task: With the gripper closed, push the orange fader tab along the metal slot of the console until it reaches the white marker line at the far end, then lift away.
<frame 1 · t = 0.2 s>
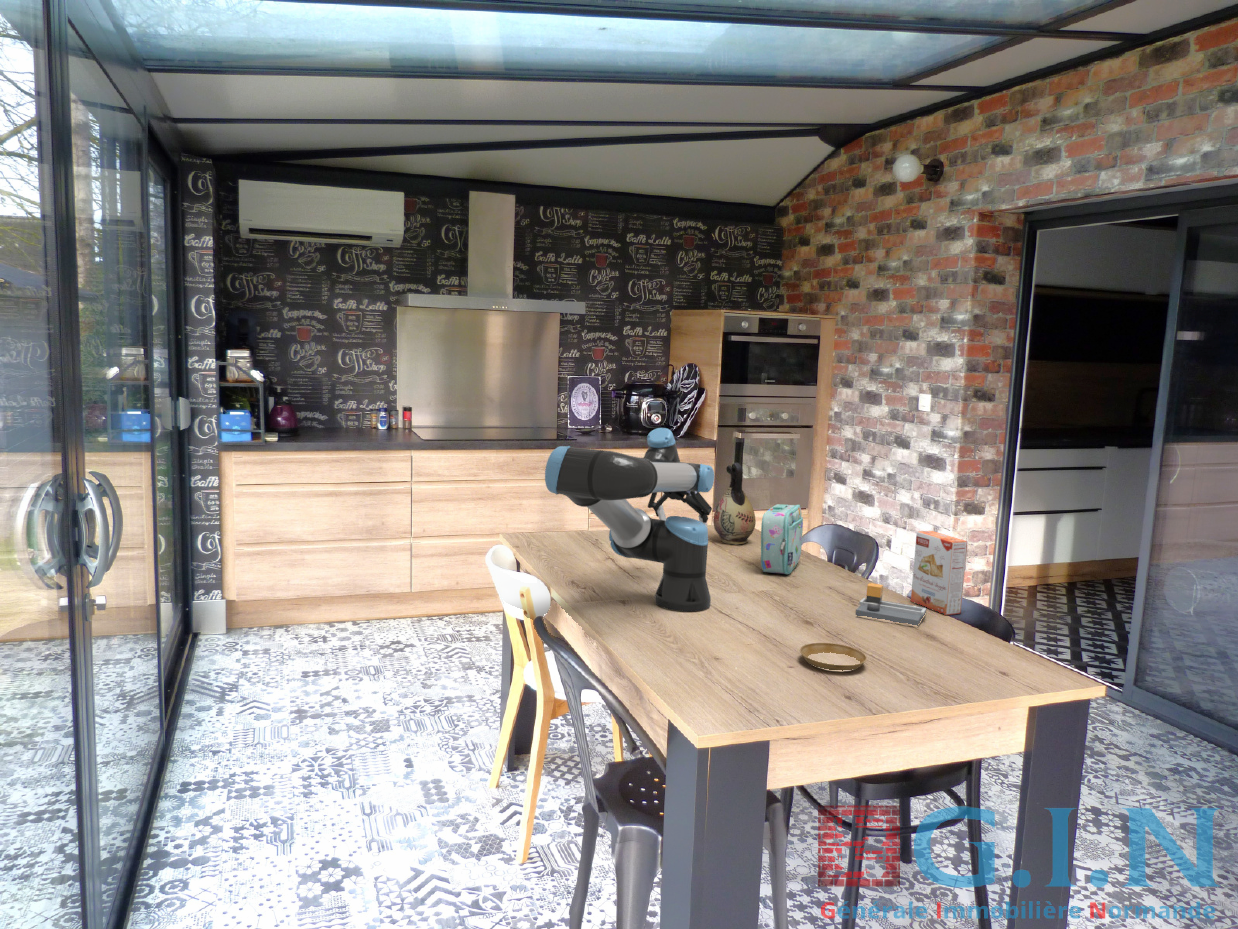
hand: (684, 526, 270), 15 cm above the table, tool tilted 35°, fingers open, 13 cm apart
ceramic jug: (733, 543, 323), on the table
plant saucer: (832, 665, 199), on the table
console: (891, 616, 239), on the table
fader tab: (874, 594, 241), point 5 cm above the table, slide at 0.0 cm
lunch box: (780, 569, 287), on the table
cracker box: (934, 608, 249), on the table
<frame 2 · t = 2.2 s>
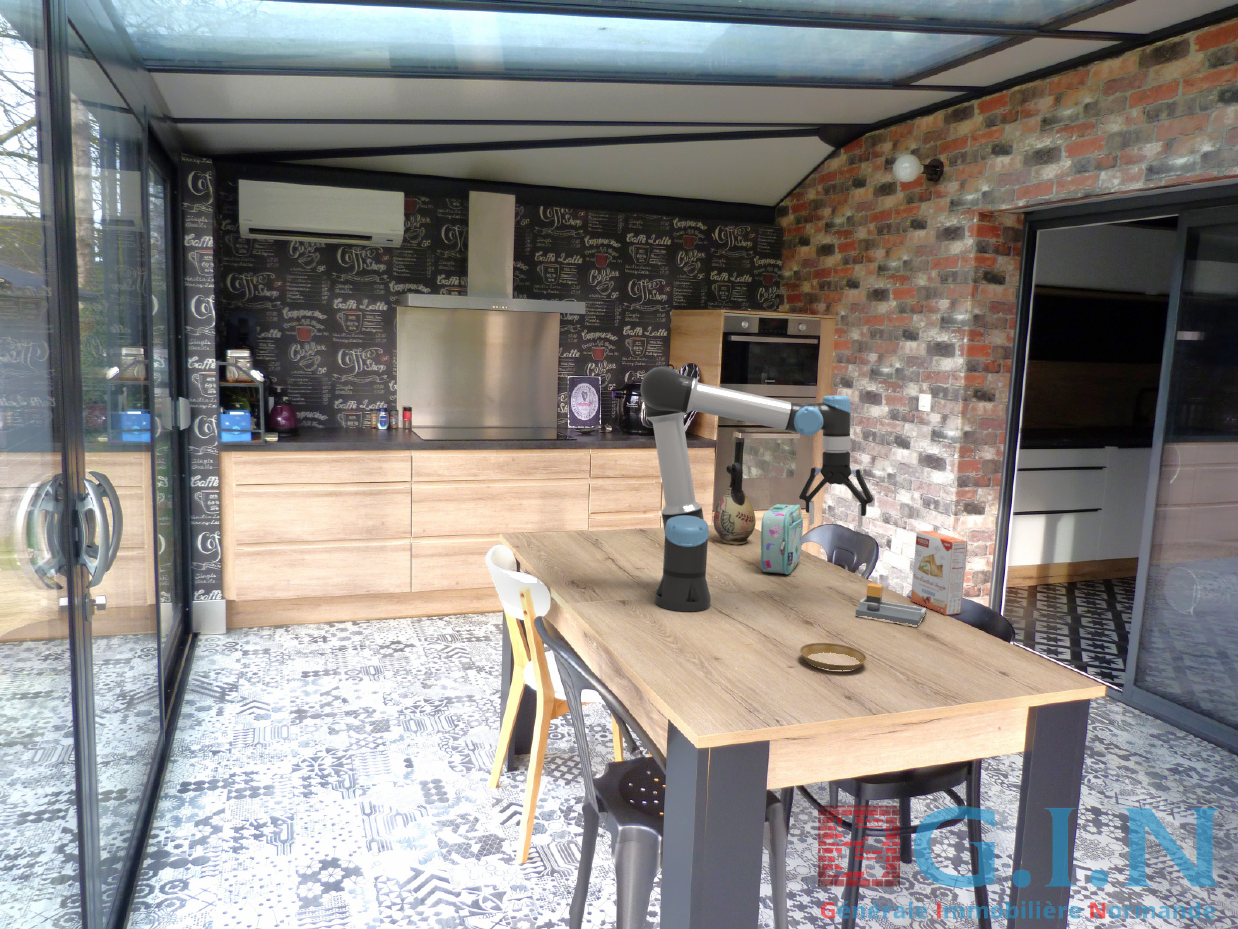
hand: (835, 525, 249), 22 cm above the table, tool pointing down, fingers open, 13 cm apart
nothing on the table moved.
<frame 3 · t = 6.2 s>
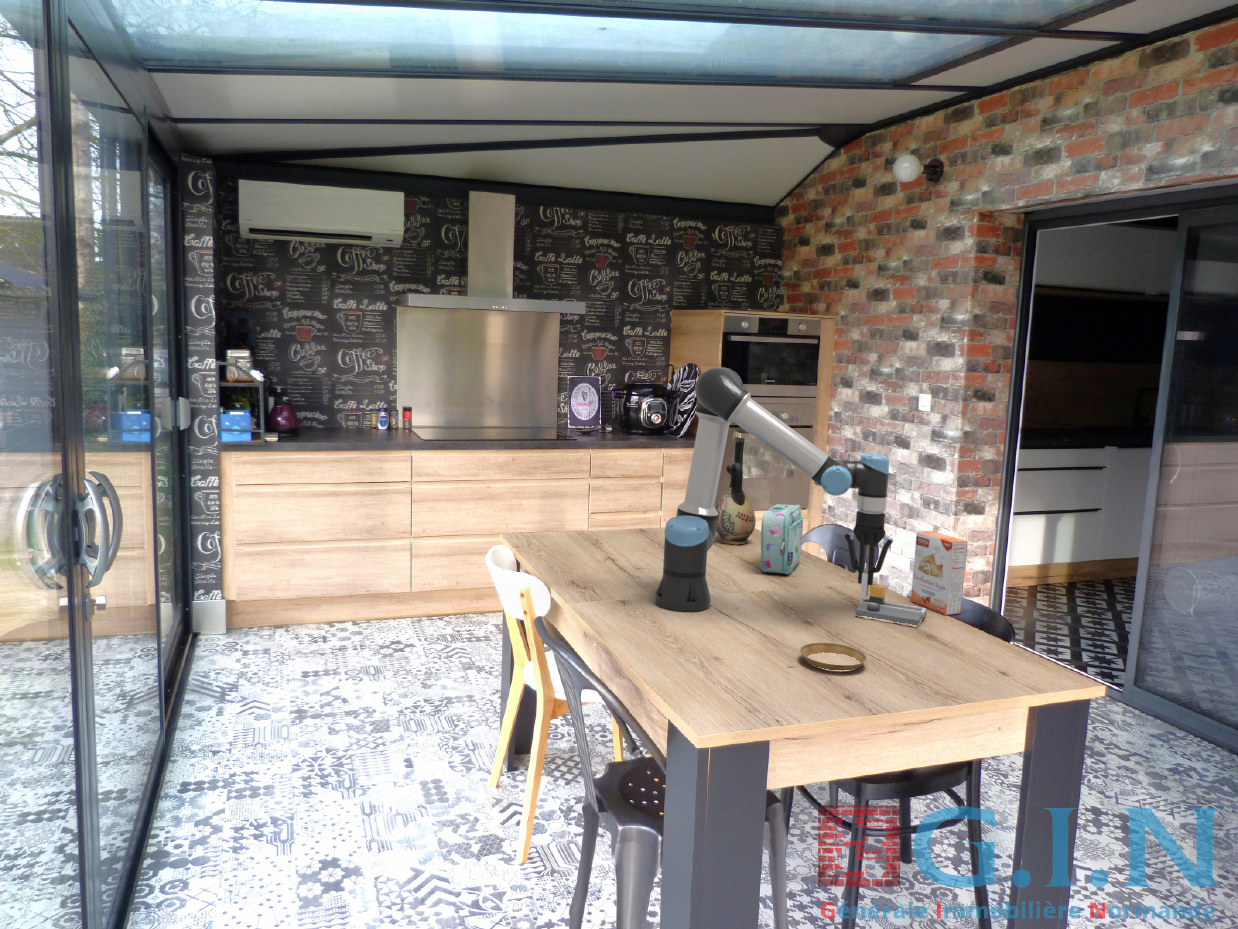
hand: (864, 595, 243), 4 cm above the table, tool pointing down, fingers closed
fader tab: (877, 595, 241), point 5 cm above the table, slide at 0.8 cm, touching gripper
everything else where it was.
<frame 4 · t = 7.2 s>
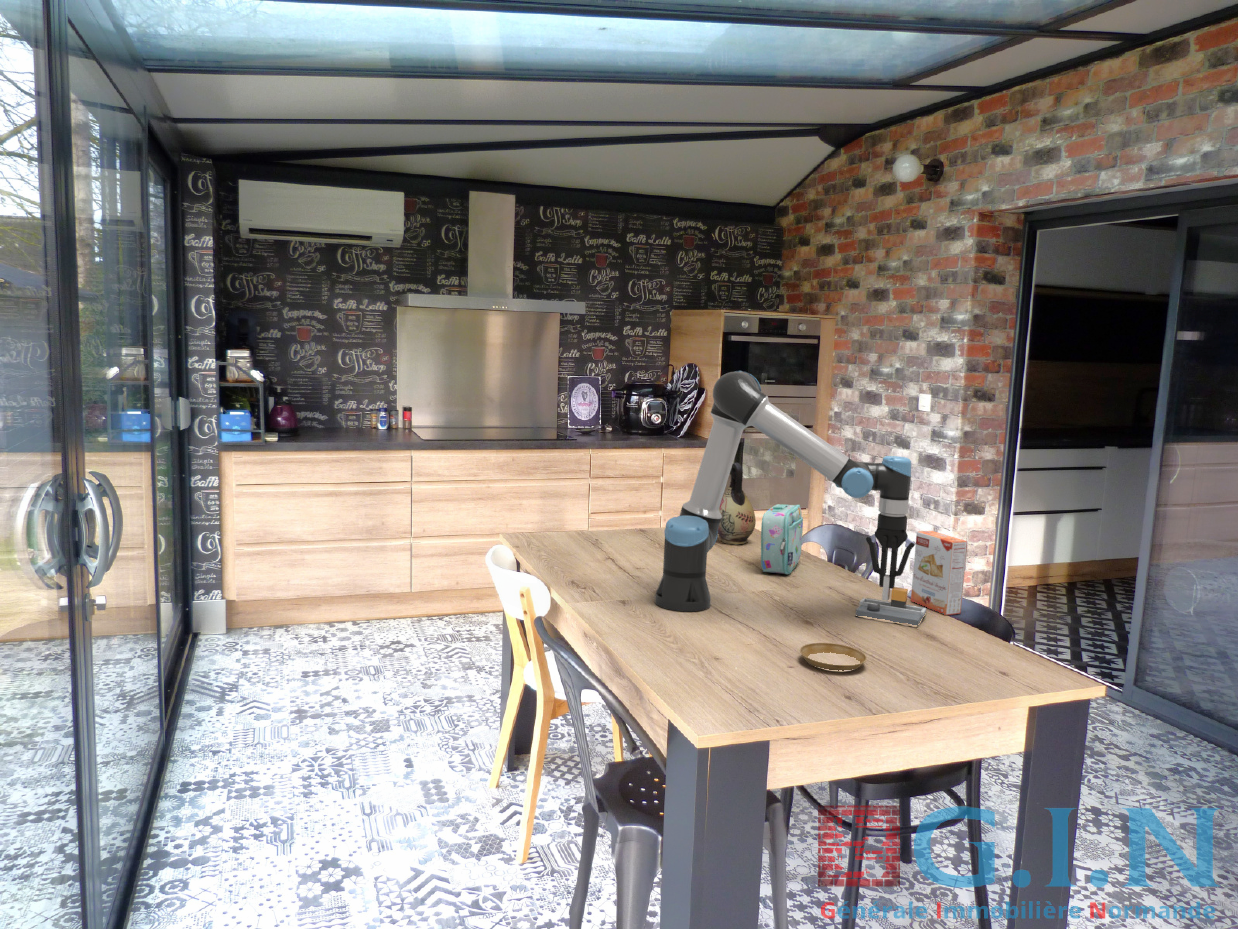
hand: (885, 599, 240), 4 cm above the table, tool pointing down, fingers closed
fader tab: (899, 598, 238), point 5 cm above the table, slide at 6.6 cm, touching gripper
everything else where it was.
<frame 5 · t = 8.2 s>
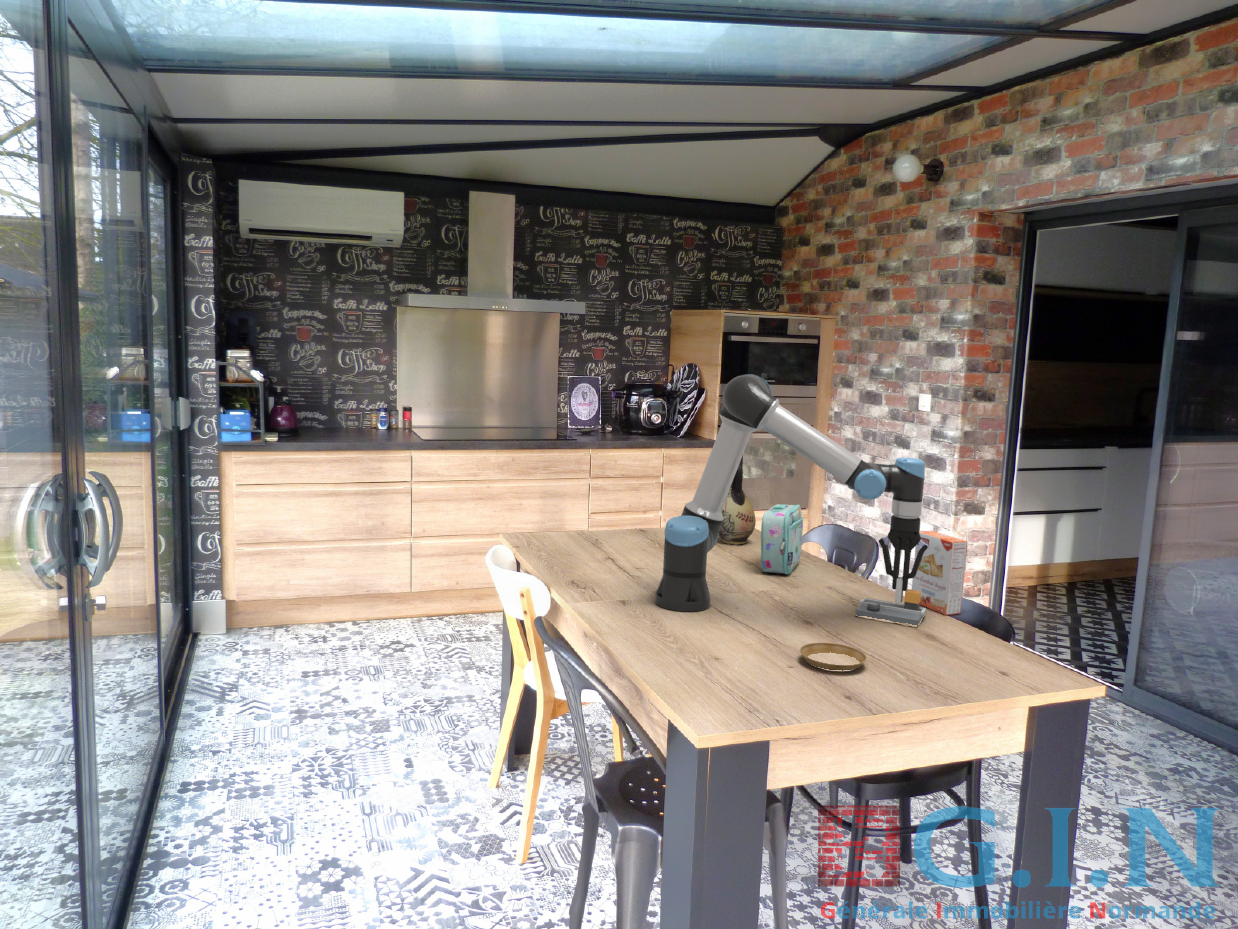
hand: (898, 601, 238), 4 cm above the table, tool pointing down, fingers closed
fader tab: (912, 600, 237), point 5 cm above the table, slide at 10.0 cm, touching gripper
everything else where it was.
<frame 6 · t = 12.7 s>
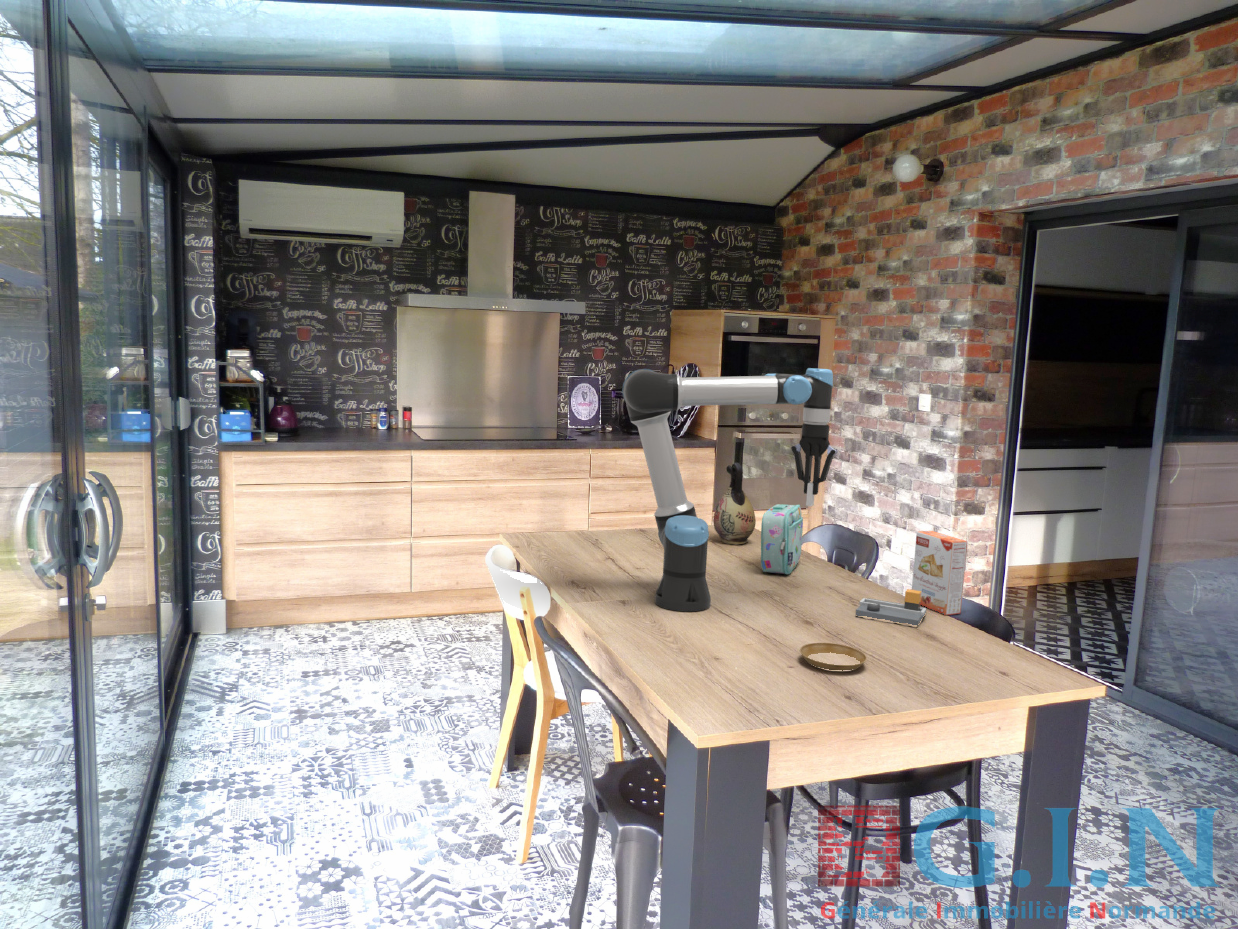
hand: (809, 505, 252), 26 cm above the table, tool pointing down, fingers closed
fader tab: (912, 600, 237), point 5 cm above the table, slide at 10.1 cm
everything else where it was.
at the end: fader tab slide at 10.1 cm; fader tab touching nothing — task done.
